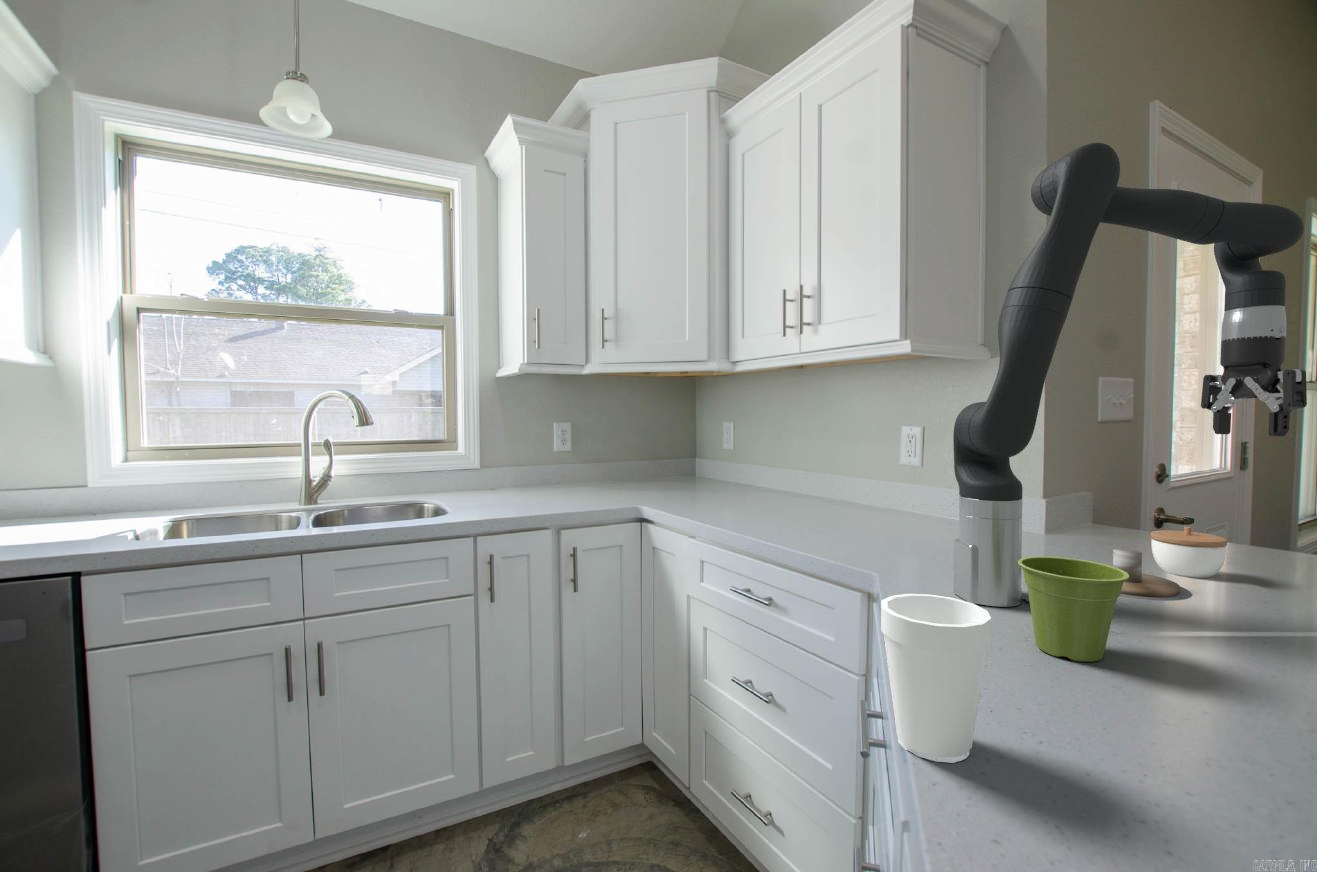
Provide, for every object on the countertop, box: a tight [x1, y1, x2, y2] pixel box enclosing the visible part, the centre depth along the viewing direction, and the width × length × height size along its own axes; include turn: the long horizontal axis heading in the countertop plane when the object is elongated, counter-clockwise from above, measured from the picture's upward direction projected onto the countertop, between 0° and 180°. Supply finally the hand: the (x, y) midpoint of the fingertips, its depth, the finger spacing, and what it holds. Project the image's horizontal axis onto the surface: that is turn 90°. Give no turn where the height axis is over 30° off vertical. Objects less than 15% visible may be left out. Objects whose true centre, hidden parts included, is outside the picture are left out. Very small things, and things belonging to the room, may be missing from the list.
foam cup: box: [880, 593, 992, 757], centre depth 55 cm, size 10×9×13 cm
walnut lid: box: [1112, 548, 1181, 597], centre depth 103 cm, size 14×14×6 cm
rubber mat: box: [1119, 586, 1193, 602], centre depth 103 cm, size 17×17×1 cm
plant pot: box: [1018, 556, 1129, 663], centre depth 76 cm, size 12×12×11 cm
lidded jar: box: [1150, 526, 1228, 579], centre depth 111 cm, size 11×11×9 cm
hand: (1248, 435), depth 97 cm, fingers open, 8 cm apart
